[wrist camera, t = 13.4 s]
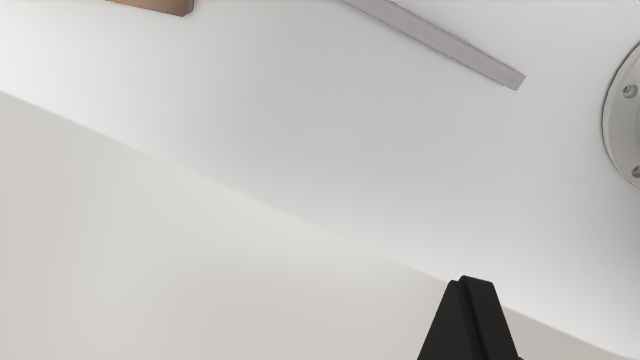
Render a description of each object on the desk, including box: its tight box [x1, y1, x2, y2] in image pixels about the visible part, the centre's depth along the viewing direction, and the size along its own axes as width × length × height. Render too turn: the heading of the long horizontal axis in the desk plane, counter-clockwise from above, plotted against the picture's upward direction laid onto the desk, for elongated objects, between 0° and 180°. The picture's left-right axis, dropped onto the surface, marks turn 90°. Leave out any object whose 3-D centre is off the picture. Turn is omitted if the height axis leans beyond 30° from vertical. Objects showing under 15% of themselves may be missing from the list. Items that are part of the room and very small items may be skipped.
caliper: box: [343, 0, 526, 90], centre depth 31 cm, size 21×1×6 cm, turn 62°
